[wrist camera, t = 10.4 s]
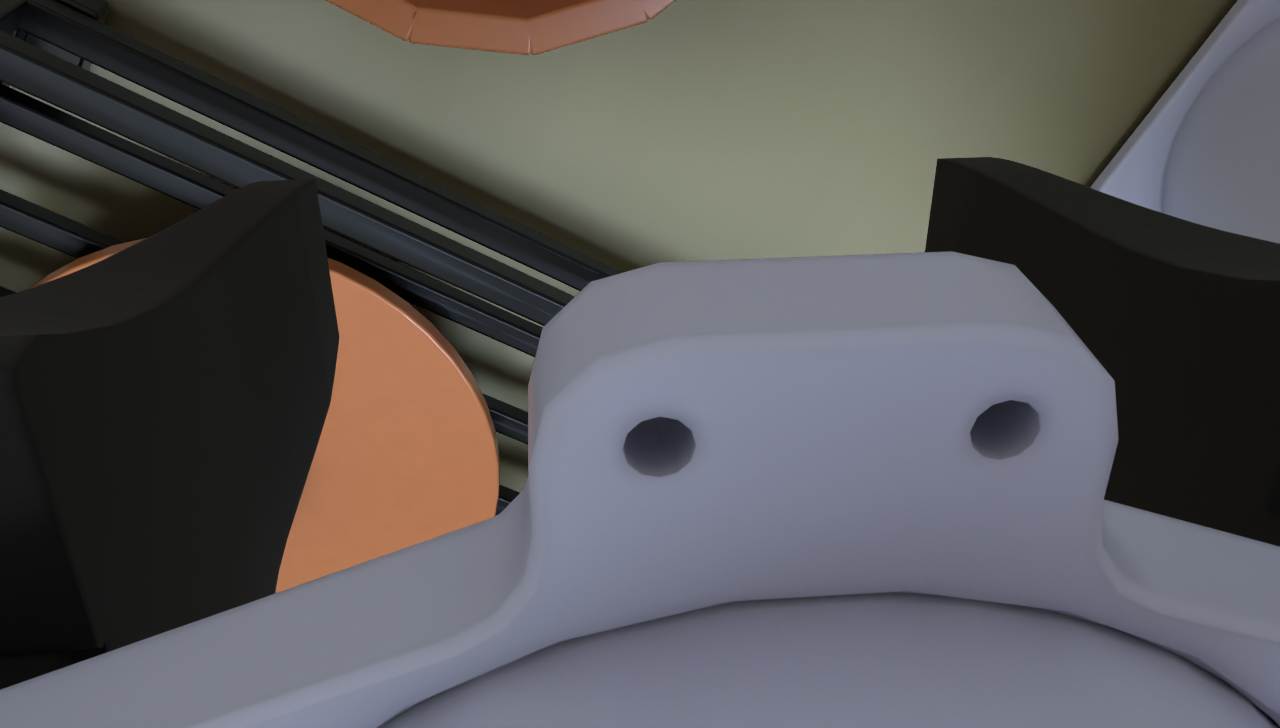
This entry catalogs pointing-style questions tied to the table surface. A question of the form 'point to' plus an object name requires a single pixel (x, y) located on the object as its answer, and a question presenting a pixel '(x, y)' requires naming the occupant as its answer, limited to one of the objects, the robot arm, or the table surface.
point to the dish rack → (267, 177)
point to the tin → (502, 21)
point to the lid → (384, 436)
